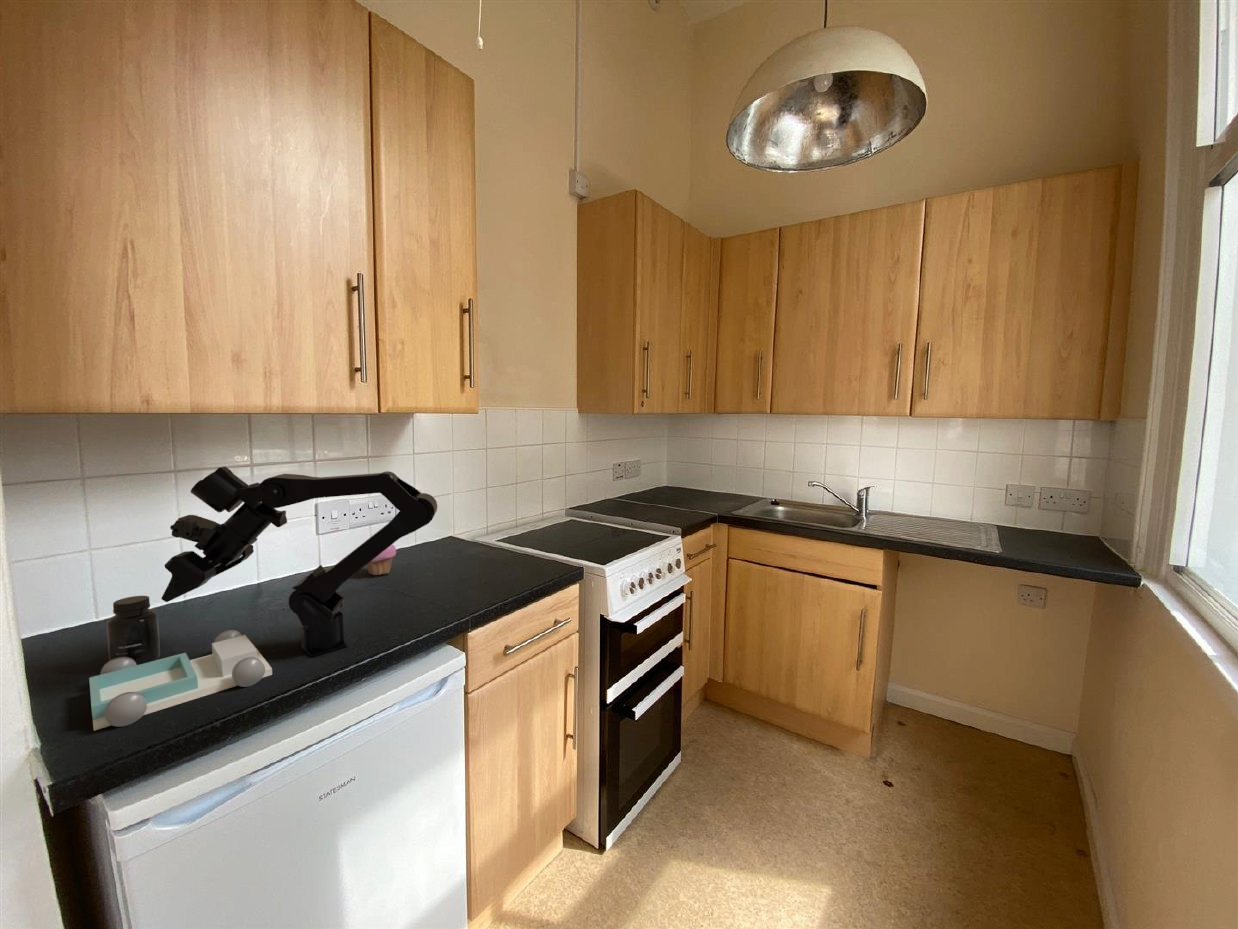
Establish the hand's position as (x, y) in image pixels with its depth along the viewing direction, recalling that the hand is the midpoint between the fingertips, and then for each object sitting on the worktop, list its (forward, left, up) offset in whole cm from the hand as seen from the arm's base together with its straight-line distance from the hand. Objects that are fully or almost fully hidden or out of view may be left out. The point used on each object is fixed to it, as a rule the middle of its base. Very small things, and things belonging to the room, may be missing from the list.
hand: (180, 591), depth 94 cm
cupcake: (-46, -25, -13) cm, 54 cm away
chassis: (+1, +11, -13) cm, 17 cm away
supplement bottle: (+6, -5, -13) cm, 16 cm away
